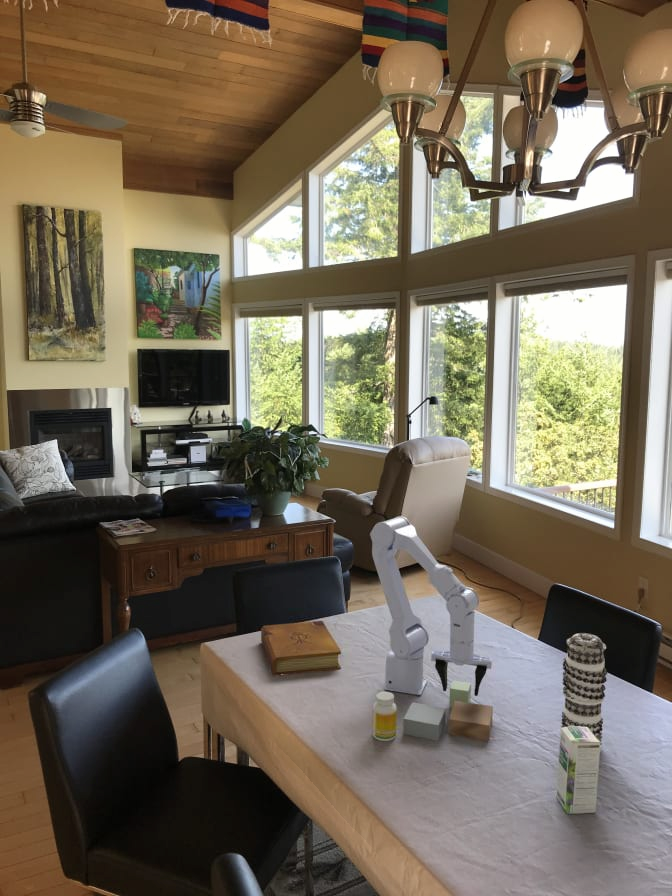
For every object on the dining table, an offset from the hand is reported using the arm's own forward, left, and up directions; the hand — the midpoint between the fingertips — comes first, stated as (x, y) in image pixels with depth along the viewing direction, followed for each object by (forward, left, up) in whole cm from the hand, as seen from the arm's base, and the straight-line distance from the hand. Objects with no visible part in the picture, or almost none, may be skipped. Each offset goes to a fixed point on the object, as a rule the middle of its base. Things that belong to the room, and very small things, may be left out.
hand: (460, 691), depth 173 cm
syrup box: (+27, -32, -4) cm, 42 cm away
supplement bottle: (-14, -20, -4) cm, 25 cm away
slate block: (-6, -14, -4) cm, 16 cm away
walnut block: (+4, -10, -4) cm, 11 cm away
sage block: (0, 0, -3) cm, 3 cm away
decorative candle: (+28, -10, -4) cm, 30 cm away
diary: (-48, +14, -4) cm, 50 cm away
